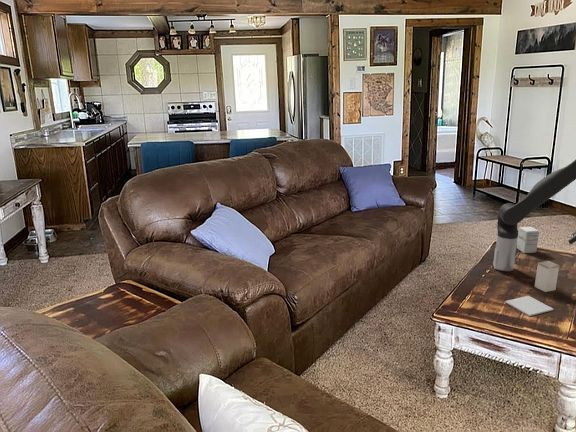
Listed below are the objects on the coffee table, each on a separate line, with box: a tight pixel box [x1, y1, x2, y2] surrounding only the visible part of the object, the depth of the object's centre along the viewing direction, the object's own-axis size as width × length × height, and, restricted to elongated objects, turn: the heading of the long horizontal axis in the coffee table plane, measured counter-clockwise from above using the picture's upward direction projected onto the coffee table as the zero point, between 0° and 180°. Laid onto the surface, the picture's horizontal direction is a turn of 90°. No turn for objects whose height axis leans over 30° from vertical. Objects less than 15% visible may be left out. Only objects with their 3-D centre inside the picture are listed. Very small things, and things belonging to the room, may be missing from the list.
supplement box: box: [516, 226, 540, 254], centre depth 255 cm, size 7×7×13 cm
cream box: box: [534, 260, 560, 293], centre depth 211 cm, size 6×6×12 cm
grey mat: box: [504, 295, 554, 317], centre depth 198 cm, size 13×13×1 cm
